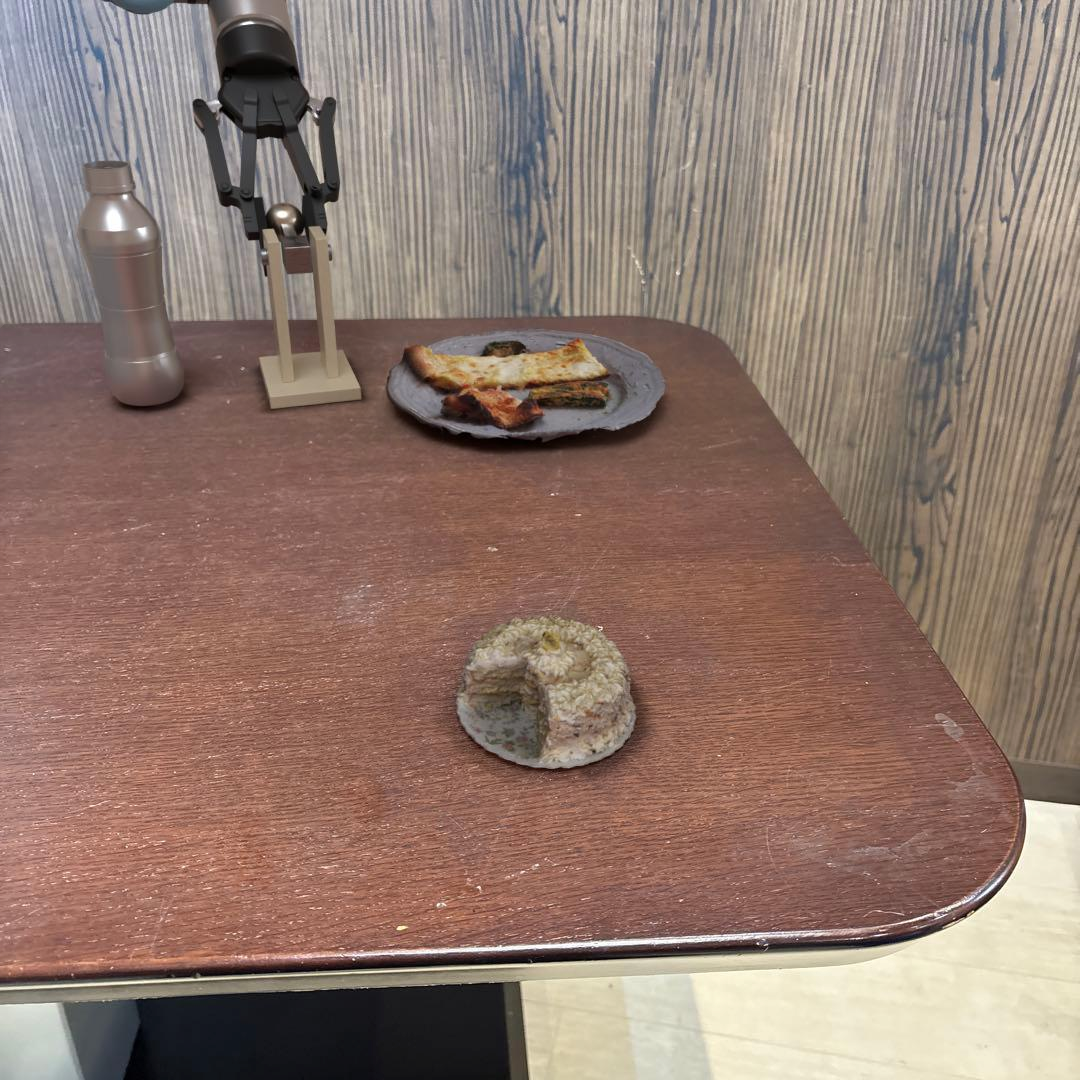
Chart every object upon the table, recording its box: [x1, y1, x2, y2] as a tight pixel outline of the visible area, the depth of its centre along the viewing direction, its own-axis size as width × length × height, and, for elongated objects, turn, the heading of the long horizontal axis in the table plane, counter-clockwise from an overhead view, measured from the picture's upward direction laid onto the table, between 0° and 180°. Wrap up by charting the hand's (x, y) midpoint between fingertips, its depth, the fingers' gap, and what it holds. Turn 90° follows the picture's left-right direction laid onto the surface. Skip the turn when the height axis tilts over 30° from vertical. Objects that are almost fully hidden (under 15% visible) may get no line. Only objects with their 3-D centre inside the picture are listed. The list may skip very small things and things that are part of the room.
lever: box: [265, 202, 313, 275], centre depth 91 cm, size 11×4×4 cm, turn 19°
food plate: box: [385, 327, 666, 443], centre depth 91 cm, size 25×23×4 cm
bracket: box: [258, 226, 362, 410], centre depth 90 cm, size 10×8×14 cm
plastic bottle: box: [76, 160, 185, 407], centre depth 84 cm, size 6×7×20 cm
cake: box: [454, 613, 637, 770], centre depth 54 cm, size 10×10×5 cm
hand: (293, 267), depth 92 cm, fingers closed on lever, 4 cm apart
